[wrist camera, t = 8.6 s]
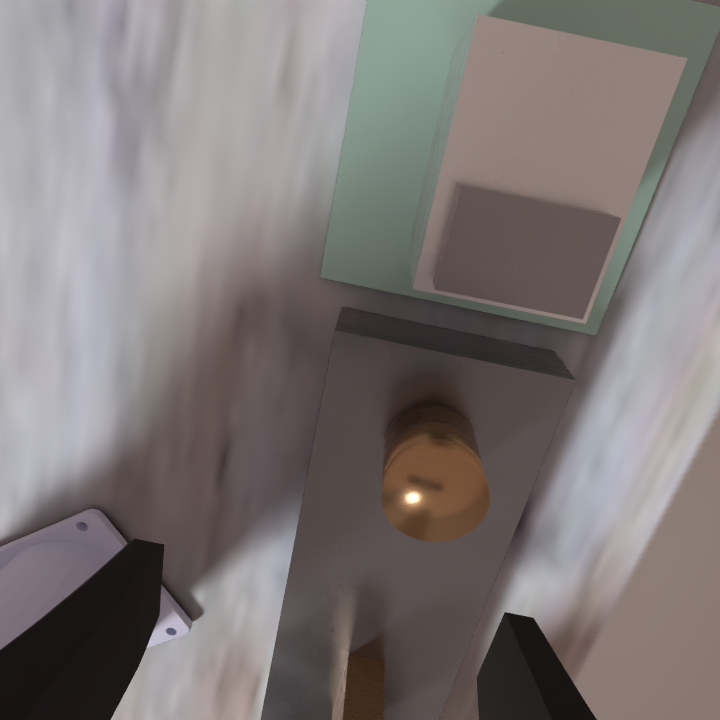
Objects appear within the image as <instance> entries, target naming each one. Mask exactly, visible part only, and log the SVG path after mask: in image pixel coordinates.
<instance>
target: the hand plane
mask: <svg viewBox="0 0 720 720" xmlns="http://www.w3.org/2000/svg"><path fill="white" fill-rule="evenodd" d="M575 381H576V380H575V378H574V377H573V376H572V374H571V373H570V372H569V370H568V369H567V368H566V366H565V365H564V364H563V362H562V361H561V360H560V358H559V357H558V356H557V354H556V353H555V352H554V351H550V350H545V349H540V348H535V347H530V346H526V345H521V344H516V343H511V342H507V341H502V340H497V339H492V338H487V337H483V336H478V335H473V334H468V333H464V332H459V331H454V330H449V329H444V328H440V327H435V326H430V325H425V324H421V323H416V322H411V321H406V320H401V319H397V318H392V317H387V316H382V315H378V314H373V313H368V312H363V311H358V310H354V309H349V308H344V307H342V309H341V313H340V316H339V319H338V322H337V325H336V329H335V333H334V338H333V343H332V349H331V354H330V359H329V364H328V370H327V375H326V380H325V385H324V390H323V396H322V401H321V406H320V411H319V417H318V422H317V427H316V432H315V438H314V443H313V448H312V453H311V459H310V464H309V469H308V474H307V479H306V485H305V490H304V495H303V500H302V506H301V511H300V516H299V521H298V527H297V532H296V537H295V542H294V548H293V553H292V558H291V563H290V569H289V574H288V579H287V584H286V589H285V595H284V600H283V605H282V610H281V616H280V621H279V626H278V631H277V637H276V642H275V647H274V652H273V658H272V663H271V668H270V673H269V678H268V684H267V689H266V694H265V699H264V705H263V710H262V715H261V720H439V718H440V716H441V713H442V711H443V708H444V706H445V703H446V701H447V698H448V696H449V693H450V691H451V689H452V686H453V684H454V681H455V679H456V676H457V674H458V671H459V669H460V666H461V664H462V661H463V659H464V656H465V654H466V651H467V649H468V646H469V644H470V641H471V639H472V636H473V634H474V632H475V629H476V627H477V624H478V622H479V619H480V617H481V614H482V612H483V609H484V607H485V604H486V602H487V599H488V597H489V594H490V592H491V589H492V587H493V584H494V582H495V579H496V577H497V575H498V572H499V570H500V567H501V565H502V562H503V560H504V557H505V555H506V552H507V550H508V547H509V545H510V542H511V540H512V537H513V535H514V532H515V530H516V527H517V525H518V522H519V520H520V518H521V515H522V513H523V510H524V508H525V505H526V503H527V500H528V498H529V495H530V493H531V490H532V488H533V485H534V483H535V480H536V478H537V475H538V473H539V470H540V468H541V465H542V463H543V461H544V458H545V456H546V453H547V451H548V448H549V446H550V443H551V441H552V438H553V436H554V433H555V431H556V428H557V426H558V423H559V421H560V418H561V416H562V413H563V411H564V408H565V406H566V404H567V401H568V399H569V396H570V394H571V391H572V389H573V386H574V384H575Z"/></svg>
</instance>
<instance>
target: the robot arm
mask: <svg viewBox="0 0 720 720" xmlns="http://www.w3.org/2000/svg"><path fill="white" fill-rule="evenodd" d="M82 522H84V523H85V524H87V525H85V524H84V523H82ZM163 554H164V544H159V543H154V542H148V541H143V540H138V539H134V540H132V541H130V542H129V543H127V542H126V541H125V539H124V538H123V537H122V536H121V534H120V533H119V532H118V531H117V530H116V528H115V527H114V526H113V525H112V524H111V522H110V521H109V520H108V519H107V517H106V516H105V515H104V514H103V513H102V512H101V511H99V510H97V509H88V510H86V511H83V512H81V513H79V514H76V515H74V516H71V517H69V518H67V519H64V520H62V521H60V522H57V523H55V524H53V525H50V526H48V527H46V528H43V529H41V530H39V531H36V532H34V533H31V534H29V535H27V536H24V537H22V538H20V539H17V540H15V541H13V542H10V543H8V544H6V545H3V546H1V547H0V720H110V719H111V718H112V716H113V714H114V712H115V710H116V708H117V706H118V704H119V703H120V701H121V699H122V697H123V695H124V693H125V691H126V689H127V688H128V686H129V684H130V682H131V680H132V678H133V676H134V674H135V672H136V670H137V669H138V667H139V664H140V662H141V659H142V657H143V655H144V652H145V650H146V648H148V647H151V646H154V645H157V644H160V643H163V642H166V641H169V640H172V639H175V638H178V637H181V636H184V635H186V634H188V633H189V632H190V630H191V627H192V621H191V620H190V618H189V617H188V616H187V615H186V614H185V612H184V611H183V610H182V609H181V607H180V606H179V605H178V604H177V603H176V601H175V600H174V599H173V598H172V596H171V595H170V594H169V593H168V592H167V590H166V589H165V588H164V587H163V586H162V570H163ZM477 688H478V708H479V720H597V719H596V718H595V716H594V715H593V713H592V712H591V710H590V709H589V707H588V706H587V704H586V703H585V701H584V700H583V698H582V696H581V695H580V693H579V691H578V690H577V688H576V687H575V685H574V683H573V682H572V680H571V678H570V677H569V675H568V674H567V672H566V670H565V669H564V667H563V665H562V664H561V662H560V661H559V659H558V657H557V656H556V654H555V652H554V651H553V649H552V647H551V646H550V644H549V642H548V641H547V639H546V638H545V636H544V634H543V633H542V631H541V629H540V628H539V626H538V625H537V623H536V621H535V620H534V618H531V617H526V616H521V615H516V614H511V613H506V612H505V613H504V615H503V618H502V620H501V622H500V625H499V627H498V629H497V632H496V634H495V636H494V639H493V641H492V643H491V646H490V648H489V650H488V653H487V655H486V657H485V660H484V662H483V664H482V667H481V669H480V671H479V674H478V676H477Z"/></svg>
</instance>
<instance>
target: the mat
mask: <svg viewBox="0 0 720 720" xmlns="http://www.w3.org/2000/svg"><path fill="white" fill-rule="evenodd" d="M477 14H481V15H486V16H490V17H495V18H500V19H504V20H509V21H514V22H519V23H523V24H528V25H533V26H537V27H542V28H547V29H551V30H556V31H561V32H566V33H570V34H575V35H580V36H584V37H589V38H594V39H599V40H603V41H608V42H613V43H617V44H622V45H627V46H632V47H636V48H641V49H646V50H650V51H655V52H660V53H665V54H669V55H674V56H679V57H683V58H688V59H687V61H686V64H685V66H684V69H683V72H682V74H681V77H680V79H679V82H678V85H677V87H676V90H675V93H674V95H673V98H672V100H671V103H670V106H669V108H668V111H667V113H666V116H665V119H664V121H663V124H662V126H661V129H660V132H659V134H658V137H657V139H656V142H655V145H654V147H653V150H652V152H651V155H650V158H649V160H648V163H647V165H646V168H645V171H644V173H643V176H642V178H641V181H640V184H639V186H638V189H637V191H636V194H635V197H634V199H633V202H632V205H631V207H630V210H629V212H628V215H627V218H626V220H625V223H624V225H623V228H622V231H621V233H620V236H619V238H618V241H617V244H616V246H615V249H614V251H613V254H612V257H611V259H610V262H609V264H608V267H607V270H606V272H605V275H604V277H603V280H602V283H601V285H600V288H599V290H598V293H597V296H596V298H595V301H594V303H593V306H592V309H591V311H590V314H589V317H588V319H587V322H586V324H583V323H578V322H573V321H569V320H564V319H559V318H554V317H549V316H544V315H539V314H534V313H529V312H524V311H519V310H514V309H509V308H504V307H499V306H494V305H489V304H485V303H480V302H475V301H470V300H465V299H460V298H455V297H450V296H445V295H440V294H435V293H430V292H425V291H420V290H415V289H412V280H411V271H410V263H409V254H408V248H409V244H410V239H411V235H412V230H413V226H414V222H415V217H416V213H417V208H418V204H419V199H420V195H421V191H422V186H423V182H424V177H425V173H426V169H427V164H428V160H429V155H430V151H431V147H432V142H433V138H434V133H435V129H436V124H437V120H438V116H439V111H440V107H441V102H442V98H443V94H444V89H445V85H446V80H447V76H448V72H449V67H450V63H451V58H452V54H453V50H454V49H455V47H456V46H457V44H458V43H459V41H460V40H461V38H462V37H463V35H464V34H465V32H466V31H467V29H468V28H469V26H470V25H471V23H472V22H473V20H474V19H475V17H476V16H477ZM719 31H720V6H716V5H712V4H707V3H703V2H698V1H694V0H367V5H366V10H365V16H364V22H363V28H362V34H361V40H360V45H359V51H358V57H357V63H356V69H355V75H354V80H353V86H352V92H351V98H350V104H349V110H348V115H347V121H346V127H345V133H344V139H343V145H342V151H341V156H340V162H339V168H338V174H337V180H336V186H335V191H334V197H333V203H332V209H331V215H330V221H329V226H328V232H327V238H326V244H325V250H324V256H323V262H322V267H321V273H320V278H324V279H329V280H334V281H339V282H343V283H348V284H353V285H358V286H362V287H367V288H372V289H377V290H381V291H386V292H391V293H396V294H400V295H405V296H410V297H415V298H419V299H424V300H429V301H434V302H438V303H443V304H448V305H453V306H457V307H462V308H467V309H472V310H476V311H481V312H486V313H491V314H496V315H500V316H505V317H510V318H515V319H519V320H524V321H529V322H534V323H538V324H543V325H548V326H553V327H557V328H562V329H567V330H572V331H576V332H581V333H586V334H591V335H595V336H596V334H597V332H598V329H599V327H600V325H601V322H602V320H603V317H604V315H605V312H606V310H607V307H608V305H609V302H610V300H611V297H612V295H613V292H614V290H615V288H616V285H617V283H618V280H619V278H620V275H621V273H622V270H623V268H624V265H625V263H626V260H627V258H628V255H629V253H630V251H631V248H632V246H633V243H634V241H635V238H636V236H637V233H638V231H639V228H640V226H641V223H642V221H643V218H644V216H645V214H646V211H647V209H648V206H649V204H650V201H651V199H652V196H653V194H654V191H655V189H656V186H657V184H658V181H659V179H660V177H661V174H662V172H663V169H664V167H665V164H666V162H667V159H668V157H669V154H670V152H671V149H672V147H673V144H674V142H675V139H676V137H677V135H678V132H679V130H680V127H681V125H682V122H683V120H684V117H685V115H686V112H687V110H688V107H689V105H690V102H691V100H692V98H693V95H694V93H695V90H696V88H697V85H698V83H699V80H700V78H701V75H702V73H703V70H704V68H705V65H706V63H707V61H708V58H709V56H710V53H711V51H712V48H713V46H714V43H715V41H716V38H717V36H718V33H719Z"/></svg>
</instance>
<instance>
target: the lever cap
mask: <svg viewBox="0 0 720 720" xmlns="http://www.w3.org/2000/svg"><path fill="white" fill-rule="evenodd" d="M687 59H688V58H683V57H679V56H674V55H669V54H665V53H660V52H655V51H650V50H646V49H641V48H636V47H632V46H627V45H622V44H617V43H613V42H608V41H603V40H599V39H594V38H589V37H584V36H580V35H575V34H570V33H566V32H561V31H556V30H551V29H547V28H542V27H537V26H533V25H528V24H523V23H519V22H514V21H509V20H504V19H500V18H495V17H490V16H486V15H481V14H477V16H476V17H475V19H474V20H473V22H472V23H471V25H470V26H469V28H468V29H467V31H466V32H465V34H464V35H463V37H462V38H461V40H460V41H459V43H458V44H457V46H456V47H455V49H454V50H453V54H452V58H451V63H450V67H449V72H448V76H447V80H446V85H445V89H444V94H443V98H442V102H441V107H440V111H439V116H438V120H437V124H436V129H435V133H434V138H433V142H432V147H431V151H430V155H429V160H428V164H427V169H426V173H425V177H424V182H423V186H422V191H421V195H420V199H419V204H418V208H417V213H416V217H415V222H414V226H413V230H412V235H411V239H410V244H409V248H408V254H409V263H410V271H411V280H412V289H415V290H420V291H425V292H430V293H435V294H440V295H445V296H450V297H455V298H460V299H465V300H470V301H475V302H480V303H485V304H489V305H494V306H499V307H504V308H509V309H514V310H519V311H524V312H529V313H534V314H539V315H544V316H549V317H554V318H559V319H564V320H569V321H573V322H578V323H583V324H586V322H587V319H588V317H589V314H590V311H591V309H592V306H593V303H594V301H595V298H596V296H597V293H598V290H599V288H600V285H601V283H602V280H603V277H604V275H605V272H606V270H607V267H608V264H609V262H610V259H611V257H612V254H613V251H614V249H615V246H616V244H617V241H618V238H619V236H620V233H621V231H622V228H623V225H624V223H625V220H626V218H627V215H628V212H629V210H630V207H631V205H632V202H633V199H634V197H635V194H636V191H637V189H638V186H639V184H640V181H641V178H642V176H643V173H644V171H645V168H646V165H647V163H648V160H649V158H650V155H651V152H652V150H653V147H654V145H655V142H656V139H657V137H658V134H659V132H660V129H661V126H662V124H663V121H664V119H665V116H666V113H667V111H668V108H669V106H670V103H671V100H672V98H673V95H674V93H675V90H676V87H677V85H678V82H679V79H680V77H681V74H682V72H683V69H684V66H685V64H686V61H687Z"/></svg>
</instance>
